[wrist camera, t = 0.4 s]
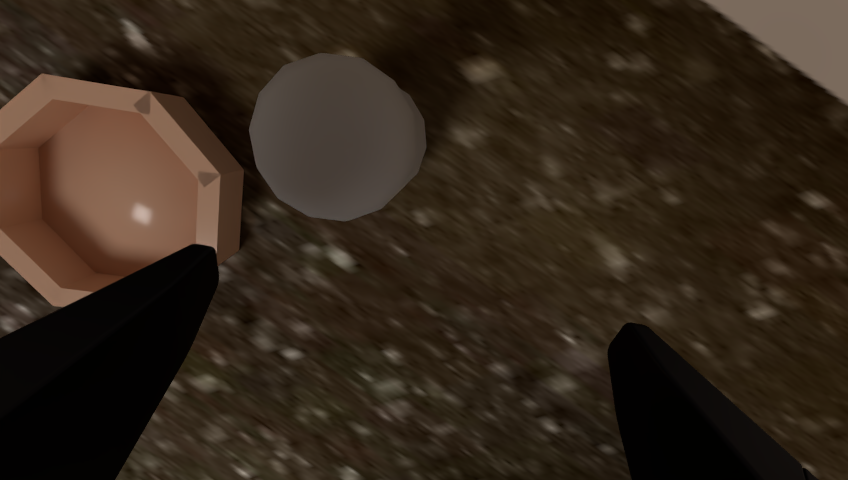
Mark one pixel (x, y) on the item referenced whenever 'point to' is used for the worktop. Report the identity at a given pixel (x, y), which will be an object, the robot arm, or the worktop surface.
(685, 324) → the worktop surface
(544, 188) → the worktop surface
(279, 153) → the salt shaker
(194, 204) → the pink octagonal dish
